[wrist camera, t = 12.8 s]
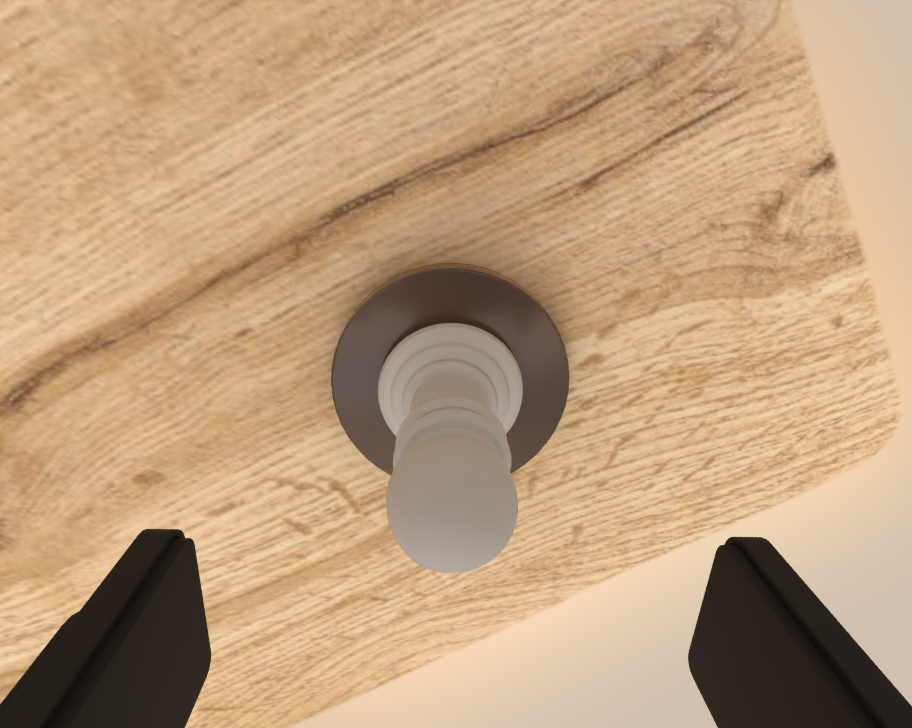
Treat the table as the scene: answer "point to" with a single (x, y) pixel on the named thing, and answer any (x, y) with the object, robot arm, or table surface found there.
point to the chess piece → (451, 445)
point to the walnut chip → (449, 301)
